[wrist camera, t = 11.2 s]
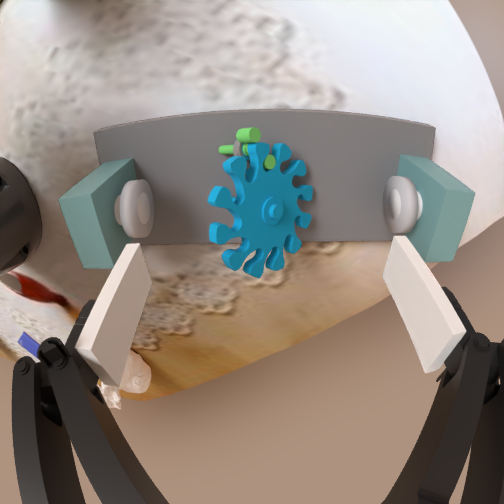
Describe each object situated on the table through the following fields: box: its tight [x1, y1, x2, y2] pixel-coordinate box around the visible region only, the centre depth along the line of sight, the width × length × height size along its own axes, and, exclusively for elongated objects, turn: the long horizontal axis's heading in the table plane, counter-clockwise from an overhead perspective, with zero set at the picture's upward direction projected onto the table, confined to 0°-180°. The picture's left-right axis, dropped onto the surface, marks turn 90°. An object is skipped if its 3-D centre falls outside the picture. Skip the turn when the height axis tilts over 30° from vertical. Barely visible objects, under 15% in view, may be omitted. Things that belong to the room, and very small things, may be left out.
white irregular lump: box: [97, 349, 151, 409], centre depth 38 cm, size 12×8×11 cm
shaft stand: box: [58, 109, 475, 269], centre depth 21 cm, size 31×12×9 cm, turn 92°
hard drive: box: [17, 330, 41, 357], centre depth 45 cm, size 2×8×12 cm
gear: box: [207, 127, 313, 278], centre depth 22 cm, size 11×6×10 cm
